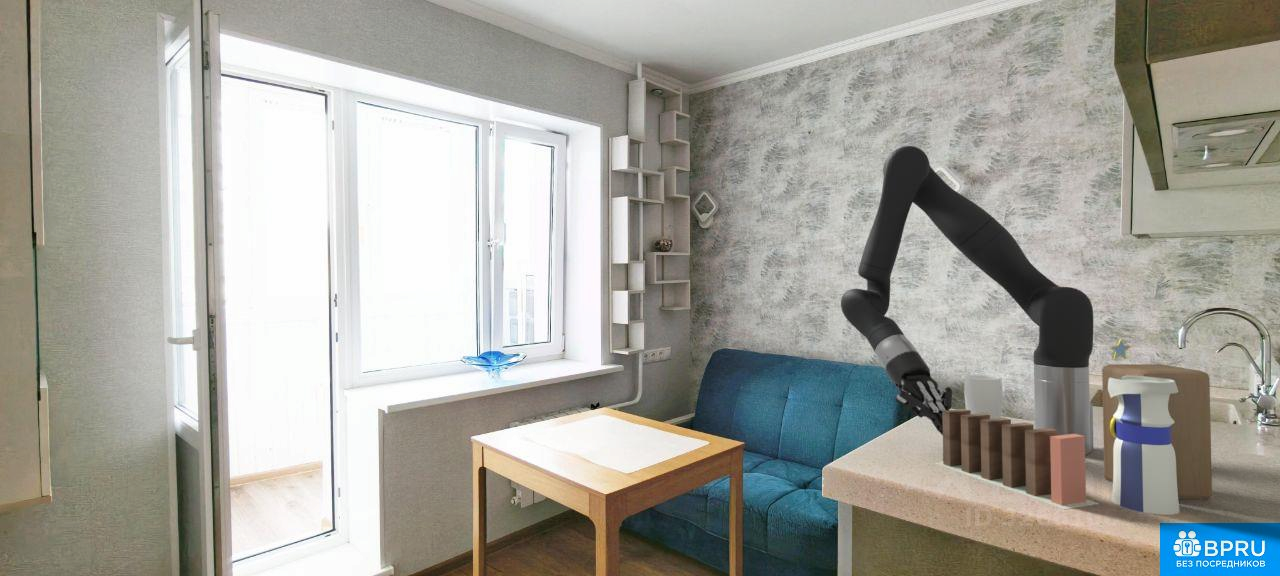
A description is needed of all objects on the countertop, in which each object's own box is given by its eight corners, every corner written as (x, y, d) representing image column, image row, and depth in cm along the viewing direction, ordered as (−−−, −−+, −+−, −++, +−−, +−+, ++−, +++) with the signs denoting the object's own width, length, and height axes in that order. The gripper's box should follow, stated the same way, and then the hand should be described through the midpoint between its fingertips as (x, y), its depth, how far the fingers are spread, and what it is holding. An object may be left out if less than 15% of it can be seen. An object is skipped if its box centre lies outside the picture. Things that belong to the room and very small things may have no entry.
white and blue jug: (1095, 503, 90) (1092, 340, 91) (1127, 494, 94) (1124, 337, 94) (1160, 522, 83) (1156, 344, 83) (1192, 511, 86) (1189, 341, 87)
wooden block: (1164, 481, 100) (1162, 363, 100) (1215, 502, 90) (1213, 371, 90) (1101, 480, 101) (1099, 363, 101) (1145, 500, 91) (1142, 371, 91)
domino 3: (1003, 474, 104) (1002, 417, 104) (1011, 477, 102) (1010, 419, 102) (981, 477, 102) (980, 419, 102) (989, 480, 101) (988, 421, 101)
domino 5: (1049, 489, 96) (1048, 427, 96) (1059, 492, 94) (1058, 430, 94) (1026, 493, 94) (1024, 430, 94) (1035, 496, 93) (1034, 432, 93)
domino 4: (1025, 481, 100) (1024, 422, 100) (1034, 484, 98) (1033, 424, 98) (1002, 485, 98) (1001, 424, 98) (1011, 488, 97) (1010, 427, 97)
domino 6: (1075, 498, 92) (1074, 433, 92) (1086, 501, 90) (1084, 436, 90) (1051, 502, 90) (1050, 436, 90) (1061, 505, 88) (1060, 438, 89)
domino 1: (964, 461, 112) (963, 408, 112) (971, 464, 110) (970, 410, 110) (943, 464, 110) (942, 410, 110) (950, 466, 109) (949, 412, 109)
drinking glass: (957, 447, 123) (956, 375, 123) (984, 444, 125) (983, 374, 125) (983, 455, 117) (982, 380, 117) (1011, 453, 118) (1010, 378, 119)
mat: (963, 461, 113) (963, 459, 113) (1099, 506, 89) (1099, 503, 89) (934, 465, 111) (934, 463, 111) (1064, 511, 87) (1064, 509, 87)
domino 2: (983, 467, 108) (982, 413, 108) (990, 470, 106) (989, 414, 106) (961, 470, 106) (960, 415, 106) (969, 473, 105) (968, 416, 105)
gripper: (883, 351, 119) (930, 424, 108) (936, 348, 123) (987, 418, 111) (866, 374, 124) (910, 446, 113) (918, 370, 128) (965, 440, 116)
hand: (948, 432), depth 112 cm, fingers closed
